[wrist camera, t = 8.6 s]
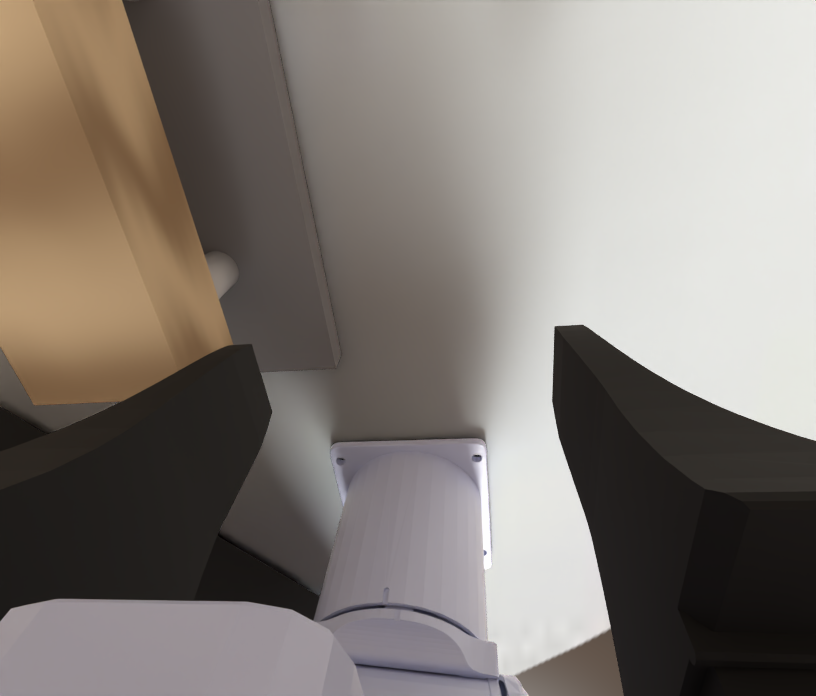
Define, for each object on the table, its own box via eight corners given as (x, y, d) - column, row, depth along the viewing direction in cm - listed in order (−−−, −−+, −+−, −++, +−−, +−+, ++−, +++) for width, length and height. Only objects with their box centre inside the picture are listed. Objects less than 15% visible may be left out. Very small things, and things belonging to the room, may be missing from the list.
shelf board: (233, 344, 19) (189, 398, 16) (100, 352, 20) (34, 405, 17) (68, -164, 12) (-63, -240, 9) (-124, -122, 13) (-305, -178, 10)
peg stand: (341, 355, 24) (319, 408, 20) (127, 366, 25) (70, 418, 21) (214, -267, 14) (128, -383, 10) (-121, -188, 15) (-301, -266, 12)
